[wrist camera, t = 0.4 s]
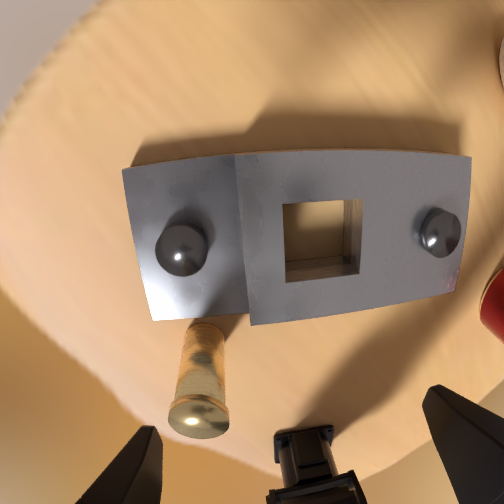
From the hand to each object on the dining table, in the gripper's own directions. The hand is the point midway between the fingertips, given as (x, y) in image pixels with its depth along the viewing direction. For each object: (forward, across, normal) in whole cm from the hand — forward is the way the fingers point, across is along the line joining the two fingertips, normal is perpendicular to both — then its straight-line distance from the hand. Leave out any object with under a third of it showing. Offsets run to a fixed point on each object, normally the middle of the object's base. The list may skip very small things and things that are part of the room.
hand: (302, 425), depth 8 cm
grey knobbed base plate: (+13, -3, -2) cm, 13 cm away
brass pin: (+13, +4, +6) cm, 15 cm away
